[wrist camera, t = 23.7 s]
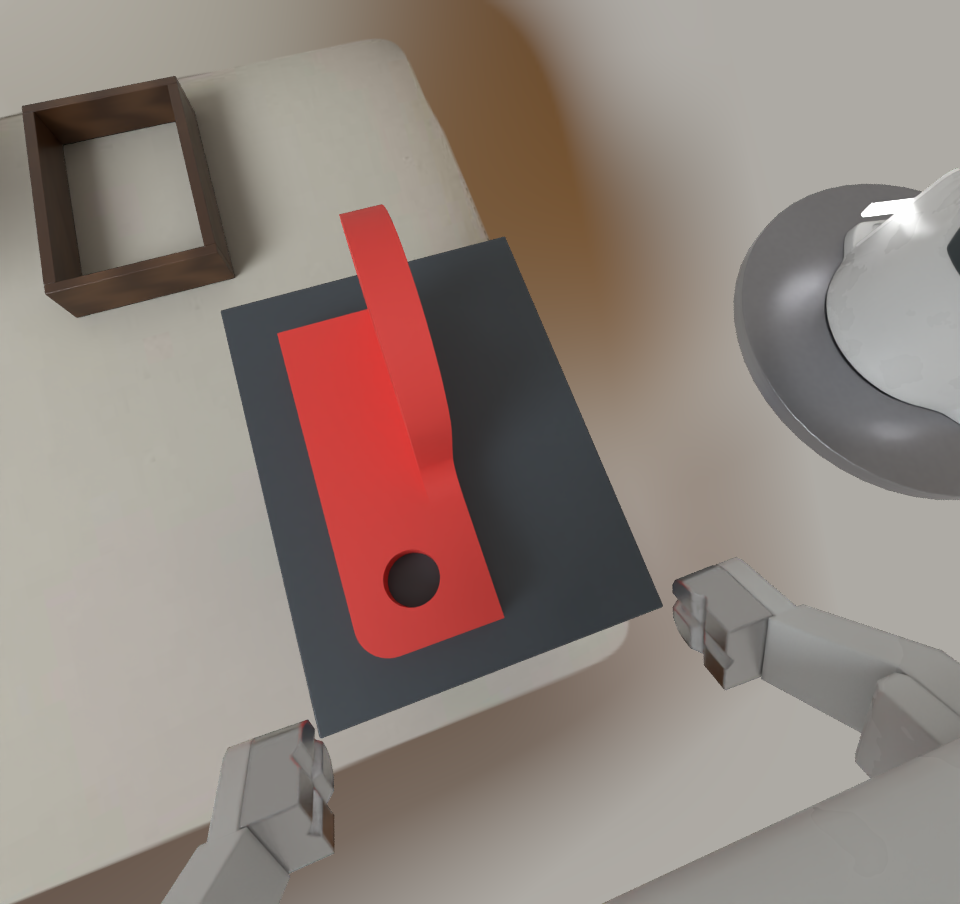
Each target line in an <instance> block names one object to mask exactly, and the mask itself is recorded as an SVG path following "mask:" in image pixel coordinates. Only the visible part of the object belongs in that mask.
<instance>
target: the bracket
mask: <svg viewBox="0 0 960 904" xmlns="http://www.w3.org/2000/svg"><path fill="white" fill-rule="evenodd" d="M339 216H340V219H341V223H342V226H343V230H344V233H345V236H346V240H347V243H348V246H349V249H350V253H351V256H352V259H353V262H354V266H355V269H356V272H357V276H358V279H359V282H360V285H361V289H362V292H363V295H364V299H365V302H366V305H367V308H368V309H366V310H362V311H359V312H355V313H351V314H347V315H344V316H340V317H336V318H333V319H329V320H325V321H321V322H318V323H314V324H310V325H306V326H303V327H299V328H295V329H292V330H288V331H284V332H280V333H277V335H278V339H279V343H280V347H281V350H282V354H283V358H284V362H285V366H286V370H287V374H288V377H289V381H290V385H291V389H292V393H293V397H294V401H295V404H296V408H297V412H298V416H299V420H300V424H301V428H302V431H303V435H304V439H305V443H306V447H307V451H308V455H309V458H310V462H311V466H312V470H313V474H314V478H315V482H316V485H317V489H318V493H319V497H320V501H321V505H322V509H323V513H324V516H325V520H326V524H327V528H328V532H329V536H330V540H331V543H332V547H333V551H334V555H335V559H336V563H337V567H338V570H339V574H340V578H341V582H342V586H343V590H344V594H345V597H346V601H347V605H348V609H349V613H350V617H351V621H352V624H353V628H354V632H355V635H356V638H357V640H358V641H359V643H360V644H361V646H362V647H363V648H364V649H365V650H366V651H367V652H369V653H370V654H372V655H374V656H377V657H380V658H395V657H399V656H402V655H405V654H407V653H410V652H413V651H416V650H418V649H421V648H424V647H426V646H429V645H432V644H435V643H437V642H440V641H443V640H446V639H448V638H451V637H454V636H456V635H459V634H462V633H465V632H467V631H470V630H473V629H475V628H478V627H481V626H484V625H486V624H489V623H492V622H495V621H497V620H500V619H503V618H504V615H503V612H502V609H501V606H500V603H499V600H498V597H497V594H496V591H495V588H494V585H493V582H492V579H491V577H490V574H489V571H488V568H487V565H486V562H485V559H484V556H483V553H482V550H481V547H480V544H479V541H478V538H477V535H476V532H475V529H474V527H473V524H472V521H471V518H470V515H469V512H468V509H467V506H466V503H465V500H464V497H463V494H462V491H461V488H460V485H459V481H458V478H457V474H456V471H455V467H454V462H453V450H452V428H451V421H450V415H449V410H448V404H447V400H446V395H445V391H444V386H443V382H442V378H441V374H440V370H439V366H438V362H437V358H436V354H435V351H434V347H433V343H432V340H431V336H430V333H429V329H428V326H427V322H426V319H425V315H424V312H423V309H422V305H421V302H420V299H419V296H418V292H417V289H416V286H415V283H414V280H413V277H412V274H411V271H410V268H409V265H408V262H407V259H406V256H405V253H404V250H403V248H402V245H401V242H400V240H399V237H398V234H397V232H396V229H395V227H394V224H393V222H392V220H391V218H390V216H389V214H388V211H387V210H386V208H385V207H384V205H382V204H381V205H377V206H373V207H369V208H364V209H360V210H356V211H352V212H348V213H344V214H339ZM409 553H421V554H425V555H427V556H429V557H430V558H432V559H433V560H434V561H435V563H436V564H437V566H438V568H439V572H440V583H439V587H438V590H437V592H436V594H435V595H434V596H433V598H432V599H431V600H430V601H429V602H427V603H426V604H424V605H422V606H419V607H415V608H412V607H406V606H404V605H401V604H400V603H398V602H397V601H396V600H395V599H394V598H393V596H392V595H391V593H390V591H389V587H388V575H389V572H390V569H391V567H392V566H393V564H394V563H395V562H396V561H397V560H398V559H399V558H400V557H402V556H404V555H406V554H409Z"/></svg>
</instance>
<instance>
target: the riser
mask: <svg viewBox="0 0 960 904" xmlns="http://www.w3.org/2000/svg"><path fill="white" fill-rule="evenodd" d="M408 265H409V268H410V271H411V274H412V277H413V280H414V283H415V286H416V289H417V292H418V296H419V299H420V302H421V305H422V309H423V312H424V315H425V319H426V322H427V326H428V329H429V333H430V336H431V340H432V343H433V347H434V351H435V354H436V358H437V362H438V366H439V370H440V374H441V378H442V382H443V386H444V391H445V395H446V400H447V404H448V410H449V415H450V421H451V428H452V450H453V462H454V467H455V471H456V474H457V478H458V481H459V485H460V488H461V491H462V494H463V497H464V500H465V503H466V506H467V509H468V512H469V515H470V518H471V521H472V524H473V527H474V529H475V532H476V535H477V538H478V541H479V544H480V547H481V550H482V553H483V556H484V559H485V562H486V565H487V568H488V571H489V574H490V577H491V579H492V582H493V585H494V588H495V591H496V594H497V597H498V600H499V603H500V606H501V609H502V612H503V615H504V618H503V619H500V620H497V621H495V622H492V623H489V624H486V625H484V626H481V627H478V628H475V629H473V630H470V631H467V632H465V633H462V634H459V635H456V636H454V637H451V638H448V639H446V640H443V641H440V642H437V643H435V644H432V645H429V646H426V647H424V648H421V649H418V650H416V651H413V652H410V653H407V654H405V655H402V656H399V657H395V658H380V657H377V656H374V655H372V654H370V653H369V652H367V651H366V650H365V649H364V648H363V647H362V646H361V644H360V643H359V641H358V640H357V638H356V635H355V632H354V628H353V624H352V621H351V617H350V613H349V609H348V605H347V601H346V597H345V594H344V590H343V586H342V582H341V578H340V574H339V570H338V567H337V563H336V559H335V555H334V551H333V547H332V543H331V540H330V536H329V532H328V528H327V524H326V520H325V516H324V513H323V509H322V505H321V501H320V497H319V493H318V489H317V485H316V482H315V478H314V474H313V470H312V466H311V462H310V458H309V455H308V451H307V447H306V443H305V439H304V435H303V431H302V428H301V424H300V420H299V416H298V412H297V408H296V404H295V401H294V397H293V393H292V389H291V385H290V381H289V377H288V374H287V370H286V366H285V362H284V358H283V354H282V350H281V347H280V343H279V339H278V335H277V333H280V332H284V331H288V330H292V329H295V328H299V327H303V326H306V325H310V324H314V323H318V322H321V321H325V320H329V319H333V318H336V317H340V316H344V315H347V314H351V313H355V312H359V311H362V310H366V309H368V308H367V305H366V302H365V299H364V295H363V292H362V289H361V285H360V282H359V279H358V276H357V275H355V276H352V277H348V278H344V279H340V280H336V281H333V282H329V283H325V284H321V285H317V286H313V287H310V288H306V289H302V290H298V291H294V292H290V293H287V294H283V295H279V296H275V297H271V298H267V299H264V300H260V301H256V302H252V303H248V304H245V305H241V306H237V307H233V308H229V309H225V310H222V311H221V315H222V319H223V323H224V328H225V332H226V336H227V341H228V345H229V349H230V353H231V358H232V362H233V366H234V371H235V375H236V379H237V384H238V388H239V392H240V397H241V401H242V405H243V409H244V414H245V418H246V422H247V427H248V431H249V435H250V440H251V444H252V448H253V453H254V457H255V461H256V465H257V470H258V474H259V478H260V483H261V487H262V491H263V496H264V500H265V504H266V509H267V513H268V517H269V521H270V526H271V530H272V534H273V539H274V543H275V547H276V552H277V556H278V560H279V565H280V569H281V573H282V577H283V582H284V586H285V590H286V595H287V599H288V603H289V608H290V612H291V616H292V621H293V625H294V629H295V633H296V638H297V642H298V646H299V651H300V655H301V659H302V664H303V668H304V672H305V677H306V681H307V685H308V689H309V694H310V698H311V702H312V707H313V711H314V715H315V720H316V724H317V728H318V733H319V737H320V738H324V737H326V736H329V735H332V734H334V733H337V732H339V731H342V730H345V729H347V728H350V727H352V726H355V725H358V724H360V723H363V722H365V721H368V720H370V719H373V718H376V717H378V716H381V715H383V714H386V713H389V712H391V711H394V710H396V709H399V708H402V707H404V706H407V705H409V704H412V703H415V702H417V701H420V700H422V699H425V698H428V697H430V696H433V695H435V694H438V693H441V692H443V691H446V690H448V689H451V688H454V687H456V686H459V685H461V684H464V683H467V682H469V681H472V680H474V679H477V678H480V677H482V676H485V675H487V674H490V673H492V672H495V671H498V670H500V669H503V668H505V667H508V666H511V665H513V664H516V663H518V662H521V661H524V660H526V659H529V658H531V657H534V656H537V655H539V654H542V653H544V652H547V651H550V650H552V649H555V648H557V647H560V646H563V645H565V644H568V643H570V642H573V641H576V640H578V639H581V638H583V637H586V636H589V635H591V634H594V633H596V632H599V631H602V630H604V629H607V628H609V627H612V626H614V625H617V624H620V623H622V622H625V621H627V620H630V619H633V618H635V617H638V616H640V615H643V614H646V613H648V612H651V611H653V610H656V609H659V608H661V607H662V606H663V605H662V602H661V600H660V597H659V595H658V593H657V591H656V588H655V586H654V584H653V581H652V579H651V577H650V574H649V572H648V570H647V567H646V565H645V562H644V560H643V558H642V555H641V553H640V551H639V548H638V546H637V544H636V541H635V539H634V537H633V534H632V532H631V530H630V527H629V525H628V523H627V520H626V518H625V516H624V514H623V511H622V509H621V506H620V504H619V502H618V500H617V497H616V495H615V492H614V490H613V488H612V485H611V483H610V481H609V478H608V476H607V474H606V471H605V469H604V467H603V465H602V462H601V460H600V457H599V455H598V453H597V450H596V448H595V446H594V443H593V441H592V439H591V436H590V434H589V432H588V429H587V427H586V425H585V423H584V420H583V418H582V415H581V413H580V411H579V408H578V406H577V404H576V402H575V399H574V397H573V394H572V392H571V390H570V387H569V385H568V383H567V380H566V378H565V376H564V373H563V371H562V369H561V366H560V364H559V362H558V359H557V357H556V355H555V352H554V350H553V348H552V345H551V343H550V341H549V338H548V336H547V334H546V332H545V329H544V327H543V324H542V322H541V320H540V317H539V315H538V313H537V310H536V308H535V306H534V303H533V301H532V299H531V297H530V294H529V292H528V289H527V287H526V285H525V283H524V280H523V278H522V276H521V273H520V271H519V268H518V266H517V264H516V261H515V259H514V257H513V254H512V252H511V250H510V247H509V245H508V243H507V240H506V238H505V237H501V238H497V239H493V240H489V241H486V242H482V243H478V244H474V245H470V246H466V247H463V248H459V249H455V250H451V251H447V252H443V253H440V254H436V255H432V256H428V257H424V258H420V259H417V260H413V261H409V262H408ZM439 583H440V572H439V568H438V566H437V564H436V563H435V561H434V560H433V559H432V558H430V557H429V556H427V555H425V554H421V553H409V554H406V555H404V556H402V557H400V558H399V559H398V560H397V561H396V562H395V563H394V564H393V566H392V567H391V569H390V572H389V575H388V587H389V591H390V593H391V595H392V596H393V598H394V599H395V600H396V601H397V602H398V603H400V604H401V605H404V606H406V607H412V608H415V607H419V606H422V605H424V604H426V603H427V602H429V601H430V600H431V599H432V598H433V596H434V595H435V594H436V592H437V590H438V587H439Z"/></svg>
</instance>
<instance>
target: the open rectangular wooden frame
mask: <svg viewBox="0 0 960 904" xmlns="http://www.w3.org/2000/svg"><path fill="white" fill-rule="evenodd" d="M22 112H23V122H24V130H25V138H26V146H27V154H28V162H29V170H30V178H31V186H32V194H33V202H34V210H35V218H36V226H37V234H38V242H39V250H40V258H41V266H42V274H43V282H44V288H45V294H46V295H47V296H48V297H50V298H51V299H52V300H54V301H55V302H56V303H58V304H59V305H60V306H62V307H63V308H64V309H66V310H67V311H68V312H70V313H71V314H72V315H74V316H75V317H77V318H78V317H82V316H86V315H90V314H94V313H98V312H102V311H106V310H110V309H114V308H117V307H121V306H125V305H129V304H133V303H137V302H141V301H145V300H149V299H153V298H157V297H161V296H165V295H169V294H173V293H177V292H181V291H185V290H188V289H192V288H196V287H200V286H204V285H208V284H212V283H216V282H220V281H224V280H228V279H232V278H235V275H234V271H233V267H232V263H231V259H230V255H229V251H228V247H227V243H226V239H225V235H224V231H223V226H222V222H221V218H220V214H219V210H218V206H217V202H216V198H215V194H214V190H213V186H212V182H211V178H210V174H209V170H208V166H207V161H206V157H205V153H204V149H203V145H202V141H201V137H200V133H199V129H198V125H197V121H196V117H195V113H194V110H193V108H192V106H191V104H190V102H189V100H188V98H187V97H186V95H185V93H184V91H183V89H182V87H181V85H180V83H179V82H178V80H177V78H176V77H175V76H173V77H167V78H163V79H157V80H153V81H147V82H142V83H137V84H132V85H127V86H122V87H117V88H111V89H107V90H102V91H96V92H91V93H86V94H81V95H76V96H71V97H66V98H61V99H56V100H51V101H45V102H40V103H35V104H30V105H25V106H22ZM174 121H176V125H177V129H178V134H179V138H180V142H181V147H182V151H183V155H184V159H185V164H186V168H187V172H188V177H189V181H190V185H191V190H192V194H193V198H194V203H195V207H196V211H197V216H198V220H199V224H200V229H201V233H202V237H203V242H204V246H203V247H199V248H195V249H191V250H187V251H182V252H178V253H174V254H170V255H166V256H162V257H158V258H154V259H150V260H145V261H141V262H137V263H133V264H129V265H125V266H121V267H117V268H113V269H108V270H104V271H100V272H96V273H92V274H88V275H84V276H82V273H81V267H80V260H79V253H78V247H77V240H76V233H75V226H74V220H73V213H72V206H71V200H70V193H69V186H68V180H67V173H66V166H65V159H64V153H63V146H62V145H64V144H69V143H73V142H78V141H83V140H88V139H93V138H97V137H102V136H107V135H112V134H117V133H121V132H126V131H131V130H136V129H141V128H145V127H150V126H155V125H160V124H165V123H169V122H174Z"/></svg>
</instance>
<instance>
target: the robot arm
mask: <svg viewBox="0 0 960 904" xmlns="http://www.w3.org/2000/svg"><path fill="white" fill-rule="evenodd" d="M892 213H895V214H894V215H893V216H891V217H890V218H889V219H887V220H878V221H867V222H861V223H859V224H857V225H856V226H855V227H853V228H852V229H851V230H849V231H848V232H847V234H846V236H845V240H844V258H843V261H842V263H841V265H840V267H839V268H838V270H837V271H836V273H835V274H834V276H833V278H832V280H831V282H830V285H829V288H828V292H827V300H826V309H827V317H828V322H829V326H830V329H831V332H832V334H833V337H834V339H835V341H836V343H837V345H838V347H839V348H840V350H841V351H842V353H843V354H844V356H845V357H846V359H847V360H848V361H849V362H850V364H851V365H852V366H853V367H854V368H855V369H856V370H857V371H858V372H859V373H860V374H861V375H862V376H863V377H864V378H865V379H867V380H868V381H869V382H870V383H872V384H873V385H874V386H876V387H877V388H879V389H880V390H882V391H883V392H885V393H887V394H889V395H890V396H892V397H894V398H897V399H899V400H901V401H904V402H906V403H909V404H912V405H915V406H919V407H923V408H927V409H931V410H935V411H938V412H940V413H943V414H945V415H946V416H948V417H949V418H951V419H952V420H954V421H955V422H957V423H959V424H960V168H955V169H953V170H951V171H949V172H948V173H946V174H945V175H943V176H942V177H941V178H940V179H938V180H937V181H935V182H934V183H933V184H932V185H930V186H929V187H928V188H927V189H925V190H924V191H923V192H921V193H920V194H919V195H918V196H916V197H915V198H913V199H904V200H896V201H887V202H879V203H872V204H871V205H870V206H869V207H868V208H867V209H865V210H864V211H863V212H862V213H861V215H862V217H867V216H876V215H884V214H892ZM673 594H674V595H675V596H676V597H677V599H678V600H677V601H676V603H675V604H674V606H673V618H674V621H675V624H676V626H677V629H678V631H679V633H680V634H681V636H682V638H683V639H684V640H685V642H686V643H687V644H688V646H689V647H690V648H691V649H694V650H696V651H698V652H700V653H703V654H704V666H705V667H706V668H707V669H708V670H709V672H710V673H711V674H712V675H713V676H714V678H715V679H716V680H717V681H718V683H719V684H720V685H721V686H722V687H723V689H725V690H727V689H730V688H732V687H735V686H738V685H741V684H743V683H746V682H748V681H751V680H754V679H756V678H759V677H761V676H762V677H761V679H763V680H764V681H766V682H768V683H770V684H772V685H773V686H775V687H777V688H779V689H781V690H783V691H784V692H786V693H789V694H790V695H792V696H794V697H796V698H798V699H799V700H801V701H803V702H805V703H807V704H809V705H810V706H812V707H814V708H816V709H818V710H820V711H822V712H823V713H825V714H827V715H829V716H831V717H833V718H834V719H837V720H838V721H840V722H842V723H844V724H846V725H848V726H849V727H851V728H853V729H855V730H857V731H859V732H860V733H861V737H860V740H859V743H858V747H857V750H856V753H855V762H856V763H857V764H858V765H859V766H860V767H861V768H862V770H863V771H864V772H865V773H866V774H867V775H868V776H869V777H870V778H871V779H869V780H867V781H865V782H863V783H860V784H858V785H856V786H854V787H852V788H850V789H847V790H845V791H843V792H841V793H839V794H837V795H835V796H833V797H830V798H828V799H826V800H824V801H822V802H820V803H817V804H815V805H813V806H811V807H809V808H807V809H804V810H802V811H800V812H798V813H796V814H794V815H792V816H789V817H788V818H785V819H783V820H781V821H779V822H777V823H774V824H772V825H770V826H768V827H766V828H764V829H762V830H759V831H758V832H755V833H753V834H751V835H749V836H746V837H744V838H742V839H740V840H738V841H736V842H734V843H732V844H729V845H728V846H725V847H723V848H721V849H719V850H716V851H715V852H712V853H710V854H708V855H706V856H704V857H701V858H699V859H697V860H695V861H693V862H691V863H688V864H686V865H684V866H682V867H680V868H678V869H676V870H674V871H671V872H669V873H667V874H665V875H663V876H661V877H658V878H656V879H654V880H652V881H650V882H648V883H646V884H643V885H641V886H639V887H637V888H635V889H633V890H631V891H629V892H626V893H624V894H622V895H620V896H618V897H615V898H613V899H611V900H609V901H607V902H605V903H603V904H960V663H958V662H957V661H956V660H954V659H953V658H952V657H950V656H949V655H947V654H946V653H945V652H943V651H942V650H939V649H936V648H933V647H930V646H927V645H924V644H921V643H918V642H915V641H911V640H908V639H905V638H903V637H900V636H897V635H894V634H891V633H888V632H885V631H882V630H879V629H876V628H873V627H870V626H867V625H864V624H860V623H858V622H855V621H852V620H849V619H846V618H843V617H840V616H837V615H834V614H831V613H828V612H825V611H822V610H819V609H815V608H813V607H810V606H806V605H800V606H796V605H795V604H794V603H792V602H791V601H790V600H789V599H788V598H786V597H785V596H784V595H783V594H782V593H781V592H779V591H778V590H777V589H776V588H775V587H774V586H772V585H771V584H770V583H769V582H768V581H767V580H765V579H764V578H763V577H762V576H761V575H760V574H758V573H757V572H756V571H755V570H754V569H752V568H751V567H750V566H749V565H748V564H747V563H745V562H744V561H743V560H742V559H740V558H737V557H735V558H732V559H729V560H727V561H724V562H721V563H719V564H716V565H712V566H710V567H707V568H704V569H702V570H699V571H697V572H694V573H692V574H689V575H687V576H684V577H681V578H679V579H677V580H675V581H674V583H673ZM314 736H315V729H314V727H313V726H312V725H311V723H310V722H309V720H305V721H302V722H299V723H296V724H294V725H291V726H288V727H285V728H282V729H279V730H276V731H273V732H270V733H268V734H265V735H262V736H259V737H256V738H253V739H251V740H248V741H245V742H242V743H240V744H237V745H234V746H232V747H229V748H228V749H227V751H226V753H225V755H224V757H223V760H222V765H221V771H220V776H219V781H218V786H217V792H216V797H215V802H214V807H213V813H212V818H211V823H210V829H209V834H208V839H207V843H205V844H202V845H200V846H198V848H197V849H196V851H195V852H194V854H193V855H192V857H191V858H190V860H189V862H188V863H187V865H186V866H185V868H184V869H183V871H182V872H181V874H180V875H179V877H178V878H177V880H176V881H175V883H174V885H173V886H172V888H171V889H170V891H169V892H168V894H167V895H166V897H165V898H164V900H163V901H162V903H161V904H279V902H280V900H281V897H282V895H283V893H284V890H285V888H286V886H287V883H288V881H289V878H290V875H289V873H292V872H294V871H296V870H298V869H300V868H303V867H305V866H307V865H309V864H311V863H314V862H316V861H318V860H321V859H323V858H325V857H327V856H329V855H331V854H334V814H333V812H332V811H331V809H330V808H329V807H328V805H327V803H328V801H329V799H330V797H331V795H332V793H333V791H334V779H333V778H334V777H333V770H332V764H331V759H330V756H329V753H328V750H327V748H326V746H325V745H324V743H323V742H322V741H319V740H315V739H314Z"/></svg>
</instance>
